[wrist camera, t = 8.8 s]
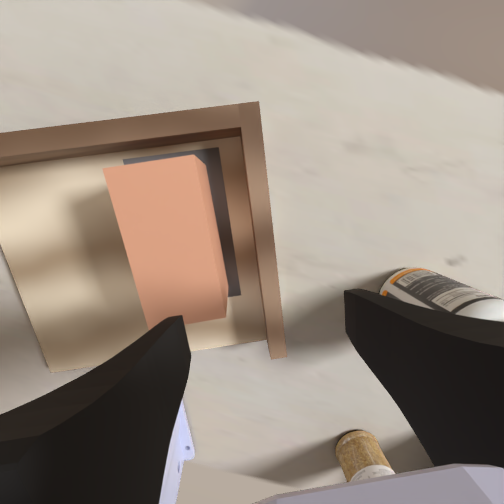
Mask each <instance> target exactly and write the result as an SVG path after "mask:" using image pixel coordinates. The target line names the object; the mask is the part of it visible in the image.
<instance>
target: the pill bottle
mask: <svg viewBox="0 0 504 504" xmlns="http://www.w3.org/2000/svg"><path fill="white" fill-rule="evenodd" d="M379 294H381V295H384V296H387V297H390V298H394V299H397V300H400V301H404V302H407V303H410V304H414V305H418V306H422V307H425V308H429V309H433V310H438V311H442V312H447V313H452V314H457V315H462V316H467V317H473V318H480V319H487V320H494V321H501V322H504V300H503V299H501V298H498V297H495V296H493V295H490V294H488V293H485V292H482V291H480V290H477V289H475V288H472V287H470V286H467V285H465V284H462V283H460V282H457V281H455V280H452V279H450V278H447V277H445V276H442V275H440V274H437V273H435V272H432V271H430V270H427V269H423V268H417V267H413V268H407V269H403V270H401V271H399V272H397V273H395V274H394V275H392V276H391V277H389V279H388V280H387V281H386V282H385V283H384V284H383V286H382V288H381V290H380V293H379Z"/></svg>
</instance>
